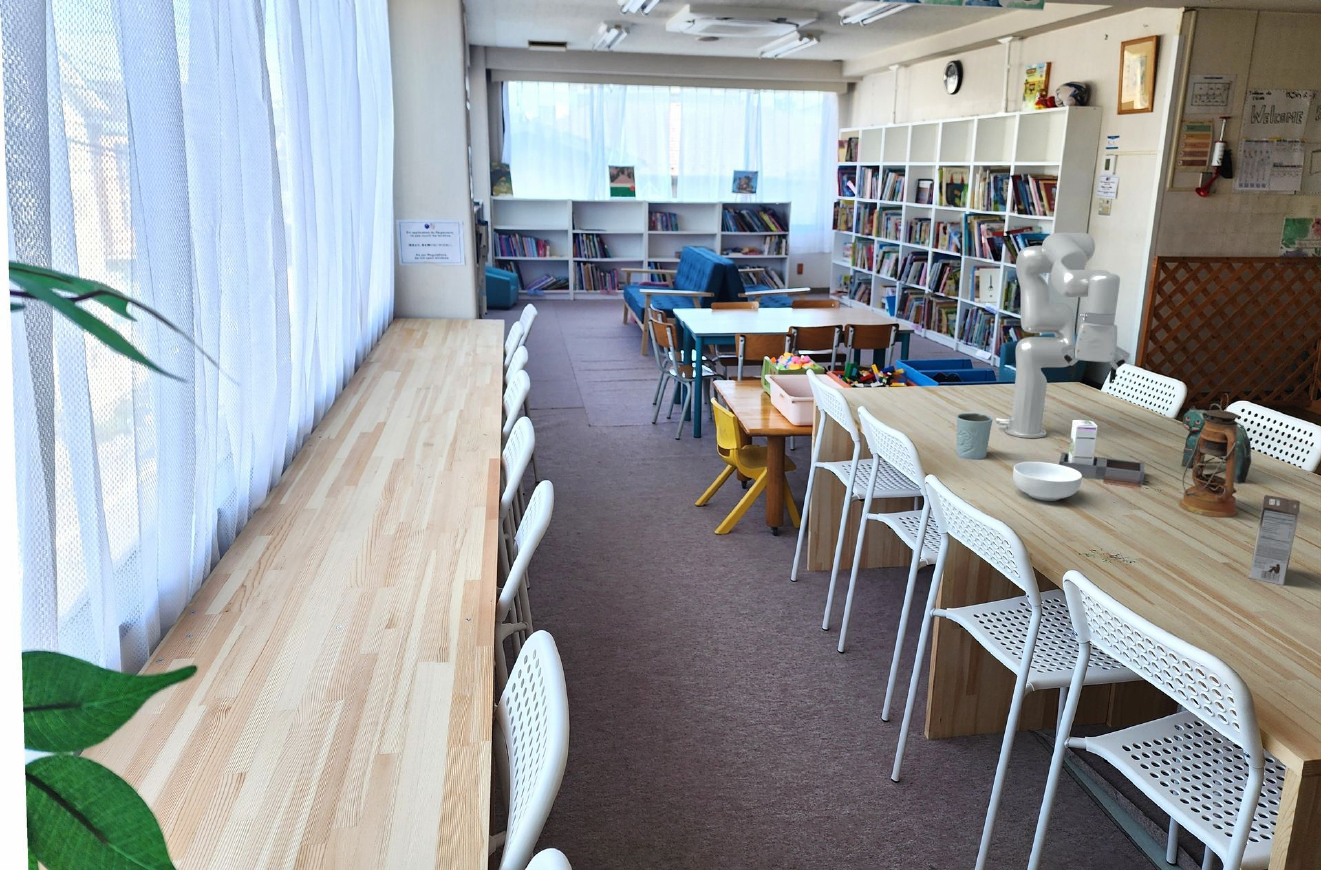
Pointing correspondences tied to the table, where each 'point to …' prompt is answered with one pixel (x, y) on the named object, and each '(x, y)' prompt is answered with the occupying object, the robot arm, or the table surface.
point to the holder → (1109, 470)
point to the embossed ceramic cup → (973, 435)
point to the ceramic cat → (1194, 425)
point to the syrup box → (1082, 442)
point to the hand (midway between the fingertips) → (1091, 380)
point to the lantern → (1209, 489)
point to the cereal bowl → (1046, 480)
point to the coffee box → (1274, 539)
